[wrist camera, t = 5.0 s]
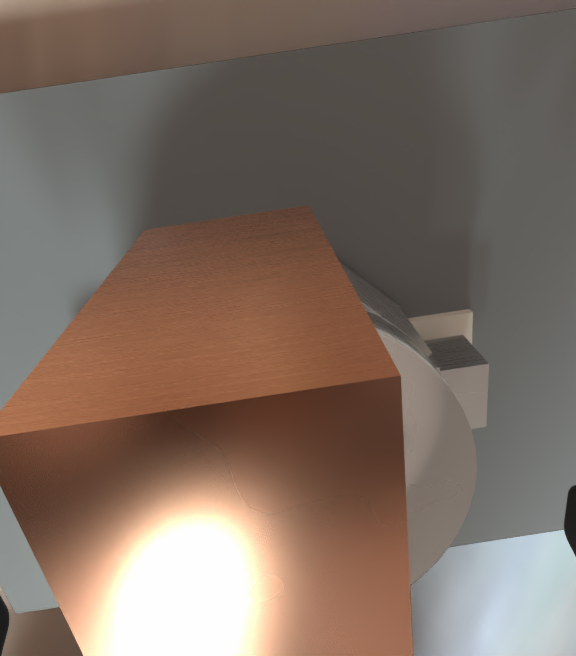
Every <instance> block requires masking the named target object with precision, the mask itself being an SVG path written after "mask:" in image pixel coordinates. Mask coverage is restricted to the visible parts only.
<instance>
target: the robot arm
mask: <svg viewBox="0 0 576 656" xmlns="http://www.w3.org/2000/svg"><path fill="white" fill-rule="evenodd" d="M564 531H565V535H566V537H567V540H568V542H569V544H570V546H571V548H572V550H573V552H574V554H575V556H576V485H574V486H572V487H571V488H570V489H569V491H568V496H567V503H566V511H565V518H564ZM8 627H9V612H8V609H7V606H6V605H5V603H4V601H3V599H2V597H1V596H0V656H1V655H2V651H3V647H4V643H5V639H6V635H7V631H8Z"/></svg>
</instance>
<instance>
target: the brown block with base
mask: <svg viewBox="0 0 576 656" xmlns="http://www.w3.org/2000/svg"><path fill="white" fill-rule="evenodd" d="M488 376H489V363H488V362H487V361H486V360H485V359H484V358H483V356H482V355H481V354H480V353H479V352H478V351H477V350H476V349H475V347H474V346H473V345H472V344H471V343H470V342H469V341H468V340H467V339H466V337H465V336H464V335H457V336H451V337H444V338H437V339H431V340H423V339H422V338H421V336H420V335H419V333H418V332H417V331H416V329H415V328H414V326H413V325H412V324H411V322H410V321H409V319H408V318H407V317H406V315H405V314H404V312H403V311H402V310H401V308H400V307H399V305H397V304H396V303H395V302H393V301H392V300H391V299H389V298H388V297H387V296H385V295H384V294H383V293H381V292H380V291H379V290H377V289H376V288H375V287H373V286H372V285H371V284H369V283H368V282H367V281H365V280H364V279H363V278H361V277H360V276H359V275H357V274H356V273H355V272H353V271H352V270H351V269H349V268H348V267H347V266H345V265H344V264H343V263H341V262H340V261H339V260H338V258H337V256H336V255H335V253H334V251H333V249H332V247H331V245H330V243H329V242H328V240H327V238H326V236H325V234H324V232H323V230H322V229H321V227H320V225H319V223H318V221H317V219H316V218H315V216H314V214H313V212H312V210H311V208H310V206H309V205H307V206H300V207H293V208H286V209H280V210H273V211H266V212H260V213H253V214H246V215H240V216H233V217H226V218H219V219H213V220H206V221H199V222H193V223H186V224H179V225H172V226H166V227H159V228H152V229H146V230H144V231H143V233H142V234H141V235H140V236H139V238H138V239H137V240H136V241H135V243H134V244H133V245H132V246H131V248H130V249H129V250H128V251H127V253H126V254H125V255H124V256H123V258H122V259H121V260H120V261H119V263H118V264H117V265H116V266H115V268H114V269H113V270H112V271H111V273H110V274H109V275H108V276H107V278H106V279H105V280H104V281H103V283H102V284H101V285H100V286H99V288H98V289H97V290H96V291H95V293H94V294H93V295H92V296H91V298H90V299H89V300H88V301H87V303H86V304H85V305H84V306H83V308H82V309H81V310H80V312H79V313H78V314H77V315H76V317H75V318H74V319H73V320H72V322H71V323H70V324H69V325H68V327H67V328H66V329H65V330H64V332H63V333H62V334H61V335H60V337H59V338H58V339H57V340H56V342H55V343H54V344H53V345H52V347H51V348H50V349H49V350H48V352H47V353H46V354H45V355H44V357H43V358H42V359H41V360H40V362H39V363H38V364H37V365H36V367H35V368H34V369H33V370H32V372H31V373H30V374H29V375H28V377H27V378H26V379H25V380H24V382H23V383H22V384H21V385H20V387H19V388H18V389H17V391H16V392H15V393H14V394H13V396H12V397H11V398H10V399H9V401H8V402H7V403H6V404H5V406H4V407H3V408H2V409H1V411H0V487H1V489H2V491H3V493H4V495H5V497H6V499H7V501H8V503H9V505H10V507H11V509H12V511H13V513H14V515H15V517H16V519H17V521H18V523H19V525H20V527H21V529H22V531H23V533H24V535H25V537H26V540H27V542H28V544H29V546H30V548H31V550H32V552H33V554H34V556H35V558H36V560H37V562H38V564H39V566H40V568H41V570H42V572H43V574H44V576H45V578H46V580H47V582H48V584H49V586H50V588H51V590H52V592H53V595H54V597H55V599H56V601H57V603H58V605H59V607H60V609H61V611H62V613H63V615H64V617H65V619H66V621H67V623H68V625H69V627H70V629H71V631H72V633H73V635H74V637H75V639H76V641H77V643H78V645H79V647H80V650H81V652H82V654H83V656H413V641H412V618H411V595H410V585H412V584H413V583H414V582H415V581H417V580H418V579H419V578H421V577H422V576H423V575H424V574H425V573H426V572H427V571H428V570H429V569H430V568H431V567H432V566H433V565H434V564H435V563H436V562H437V561H438V560H439V559H440V558H441V556H442V555H443V554H444V553H445V551H446V550H447V549H448V548H449V547H450V545H451V544H452V542H453V540H454V539H455V537H456V536H457V534H458V532H459V531H460V529H461V527H462V525H463V523H464V520H465V518H466V516H467V514H468V512H469V509H470V505H471V502H472V498H473V495H474V491H475V484H476V475H477V459H476V448H475V443H474V439H473V434H472V430H471V429H475V428H481V427H486V423H487V399H488Z"/></svg>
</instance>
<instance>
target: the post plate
mask: <svg viewBox="0 0 576 656" xmlns="http://www.w3.org/2000/svg"><path fill="white" fill-rule="evenodd" d="M307 205H309V206H310V208H311V210H312V212H313V214H314V216H315V218H316V219H317V221H318V223H319V225H320V227H321V229H322V230H323V232H324V234H325V236H326V238H327V240H328V242H329V243H330V245H331V247H332V249H333V251H334V253H335V255H336V256H337V258H338V260H339V261H340V262H341V263H343V264H344V265H345V266H347V267H348V268H349V269H351V270H352V271H353V272H355V273H356V274H357V275H359V276H360V277H361V278H363V279H364V280H365V281H367V282H368V283H369V284H371V285H372V286H373V287H375V288H376V289H377V290H379V291H380V292H381V293H383V294H384V295H385V296H387V297H388V298H389V299H391V300H392V301H393V302H395V303H396V304H397V305H399V307H400V308H401V310H402V311H403V312H404V314H405V315H406V317H407V318H408V319H409V321H410V322H411V324H412V325H413V326H414V328H415V329H416V331H417V332H418V333H419V335H420V336H421V338H422V339H423V340H431V339H437V338H444V337H451V336H457V335H464V336H465V337H466V339H467V340H468V341H469V342H470V343H471V344H472V345H473V346H474V347H475V349H476V350H477V351H478V352H479V353H480V354H481V355H482V356H483V358H484V359H485V360H486V361H487V362H488V363H489V376H488V399H487V423H486V427H481V428H475V429H471V430H472V434H473V439H474V443H475V448H476V459H477V475H476V484H475V491H474V495H473V498H472V502H471V505H470V509H469V512H468V514H467V516H466V518H465V520H464V523H463V525H462V527H461V529H460V531H459V532H458V534H457V536H456V537H455V539H454V540H453V542H452V544H451V545H450V547H454V546H460V545H467V544H473V543H480V542H486V541H493V540H499V539H506V538H512V537H519V536H525V535H532V534H538V533H545V532H551V531H558V530H564V518H565V511H566V503H567V496H568V491H569V489H570V488H571V487H572V486H574V485H576V8H575V9H568V10H562V11H555V12H548V13H541V14H535V15H528V16H521V17H514V18H508V19H501V20H494V21H487V22H481V23H474V24H467V25H460V26H454V27H447V28H440V29H433V30H427V31H420V32H413V33H406V34H400V35H393V36H386V37H379V38H373V39H366V40H359V41H352V42H346V43H339V44H332V45H325V46H319V47H312V48H305V49H299V50H292V51H285V52H278V53H272V54H265V55H258V56H251V57H245V58H238V59H231V60H224V61H218V62H211V63H204V64H197V65H191V66H184V67H177V68H170V69H164V70H157V71H150V72H143V73H137V74H130V75H123V76H116V77H110V78H103V79H96V80H89V81H83V82H76V83H69V84H62V85H56V86H49V87H42V88H35V89H29V90H22V91H15V92H8V93H2V94H0V411H1V409H2V408H3V407H4V406H5V404H6V403H7V402H8V401H9V399H10V398H11V397H12V396H13V394H14V393H15V392H16V391H17V389H18V388H19V387H20V385H21V384H22V383H23V382H24V380H25V379H26V378H27V377H28V375H29V374H30V373H31V372H32V370H33V369H34V368H35V367H36V365H37V364H38V363H39V362H40V360H41V359H42V358H43V357H44V355H45V354H46V353H47V352H48V350H49V349H50V348H51V347H52V345H53V344H54V343H55V342H56V340H57V339H58V338H59V337H60V335H61V334H62V333H63V332H64V330H65V329H66V328H67V327H68V325H69V324H70V323H71V322H72V320H73V319H74V318H75V317H76V315H77V314H78V313H79V312H80V310H81V309H82V308H83V306H84V305H85V304H86V303H87V301H88V300H89V299H90V298H91V296H92V295H93V294H94V293H95V291H96V290H97V289H98V288H99V286H100V285H101V284H102V283H103V281H104V280H105V279H106V278H107V276H108V275H109V274H110V273H111V271H112V270H113V269H114V268H115V266H116V265H117V264H118V263H119V261H120V260H121V259H122V258H123V256H124V255H125V254H126V253H127V251H128V250H129V249H130V248H131V246H132V245H133V244H134V243H135V241H136V240H137V239H138V238H139V236H140V235H141V234H142V233H143V231H144V230H146V229H152V228H159V227H166V226H172V225H179V224H186V223H193V222H199V221H206V220H213V219H219V218H226V217H233V216H240V215H246V214H253V213H260V212H266V211H273V210H280V209H286V208H293V207H300V206H307ZM0 586H1V588H2V590H3V591H4V593H5V595H6V597H7V599H8V600H9V602H10V604H11V606H12V608H13V609H14V611H15V613H16V614H18V613H25V612H31V611H38V610H44V609H51V608H57V607H59V605H58V603H57V601H56V599H55V597H54V595H53V592H52V590H51V588H50V586H49V584H48V582H47V580H46V578H45V576H44V574H43V572H42V570H41V568H40V566H39V564H38V562H37V560H36V558H35V556H34V554H33V552H32V550H31V548H30V546H29V544H28V542H27V540H26V537H25V535H24V533H23V531H22V529H21V527H20V525H19V523H18V521H17V519H16V517H15V515H14V513H13V511H12V509H11V507H10V505H9V503H8V501H7V499H6V497H5V495H4V493H3V491H2V489H1V487H0Z"/></svg>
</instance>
